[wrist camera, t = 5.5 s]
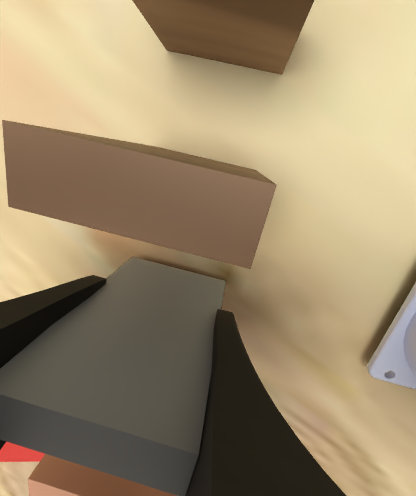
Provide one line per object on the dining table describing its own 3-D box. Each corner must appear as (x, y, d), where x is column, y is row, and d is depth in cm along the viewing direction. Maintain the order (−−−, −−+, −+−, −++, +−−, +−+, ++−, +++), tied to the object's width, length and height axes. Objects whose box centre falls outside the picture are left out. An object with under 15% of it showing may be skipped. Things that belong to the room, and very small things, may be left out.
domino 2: (130, 328, 16) (27, 478, 8) (206, 349, 15) (171, 525, 8) (128, 347, 16) (30, 505, 9) (201, 368, 16) (164, 548, 9)
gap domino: (132, 256, 13) (-22, 387, 5) (225, 280, 13) (198, 455, 5) (129, 282, 13) (-15, 435, 6) (218, 306, 13) (184, 497, 6)
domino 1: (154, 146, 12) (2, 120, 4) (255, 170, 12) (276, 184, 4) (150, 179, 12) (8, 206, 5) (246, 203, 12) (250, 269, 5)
